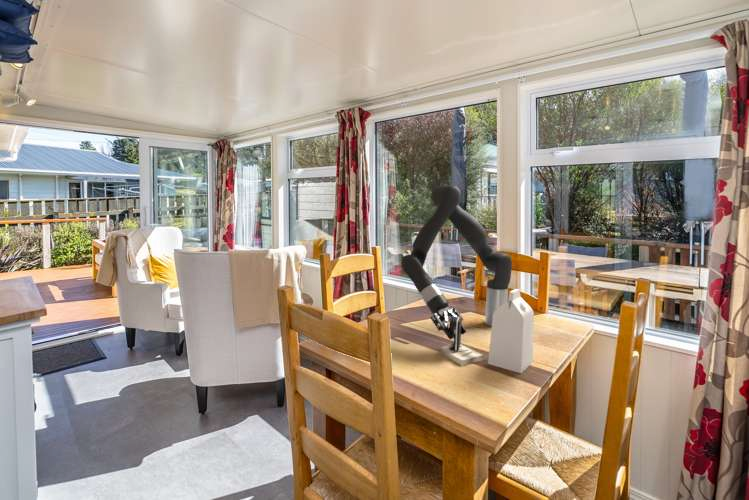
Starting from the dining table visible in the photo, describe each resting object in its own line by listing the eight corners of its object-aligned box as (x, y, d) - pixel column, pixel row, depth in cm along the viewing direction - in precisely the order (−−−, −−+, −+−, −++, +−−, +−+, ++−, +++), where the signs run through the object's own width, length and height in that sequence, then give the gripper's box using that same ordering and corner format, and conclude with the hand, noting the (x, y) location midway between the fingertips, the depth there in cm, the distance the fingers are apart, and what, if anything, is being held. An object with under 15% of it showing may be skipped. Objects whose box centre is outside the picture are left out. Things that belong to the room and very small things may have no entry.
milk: (501, 353, 145) (504, 285, 142) (532, 361, 138) (537, 290, 134) (487, 363, 136) (491, 291, 132) (521, 373, 129) (525, 296, 125)
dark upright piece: (450, 343, 148) (451, 314, 147) (460, 345, 147) (462, 316, 145) (447, 350, 142) (448, 320, 140) (458, 352, 140) (459, 321, 139)
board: (458, 348, 150) (458, 342, 150) (483, 360, 139) (483, 354, 138) (438, 352, 145) (438, 347, 145) (462, 365, 134) (462, 360, 134)
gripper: (428, 296, 142) (453, 335, 135) (450, 290, 152) (475, 326, 145) (416, 307, 147) (440, 345, 140) (439, 300, 157) (462, 336, 150)
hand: (458, 335), depth 143 cm, fingers closed on dark upright piece, 7 cm apart
